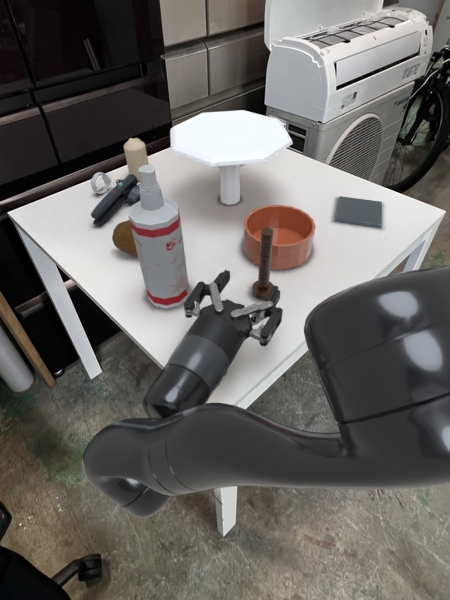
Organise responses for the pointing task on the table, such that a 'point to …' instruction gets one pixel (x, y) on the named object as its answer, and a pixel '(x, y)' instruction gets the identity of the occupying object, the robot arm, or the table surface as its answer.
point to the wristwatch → (106, 180)
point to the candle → (135, 155)
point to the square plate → (359, 211)
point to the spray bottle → (159, 243)
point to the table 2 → (229, 144)
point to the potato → (124, 238)
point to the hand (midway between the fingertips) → (251, 281)
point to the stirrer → (264, 266)
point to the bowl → (280, 235)
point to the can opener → (117, 199)
